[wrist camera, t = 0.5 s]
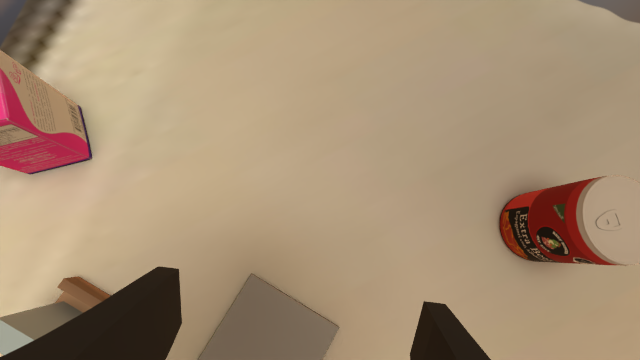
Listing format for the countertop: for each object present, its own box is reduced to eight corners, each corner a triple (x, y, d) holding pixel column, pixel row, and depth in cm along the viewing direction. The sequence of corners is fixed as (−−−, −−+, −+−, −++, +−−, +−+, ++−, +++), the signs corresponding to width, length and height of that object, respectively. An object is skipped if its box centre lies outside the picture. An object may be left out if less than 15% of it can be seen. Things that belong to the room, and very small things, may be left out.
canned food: (485, 213, 40) (566, 200, 29) (536, 181, 41) (631, 158, 31) (521, 275, 39) (618, 284, 28) (572, 239, 41) (681, 236, 30)
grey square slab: (126, 362, 31) (80, 400, 23) (51, 317, 31) (-21, 340, 23) (137, 345, 31) (96, 377, 24) (63, 301, 31) (-3, 318, 23)
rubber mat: (284, 427, 33) (284, 430, 32) (190, 371, 32) (189, 373, 32) (338, 326, 35) (339, 327, 34) (251, 273, 35) (251, 273, 34)
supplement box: (15, 120, 34) (-106, 57, 23) (81, 105, 35) (-3, 39, 24) (26, 176, 33) (-93, 140, 22) (94, 160, 34) (12, 117, 23)
